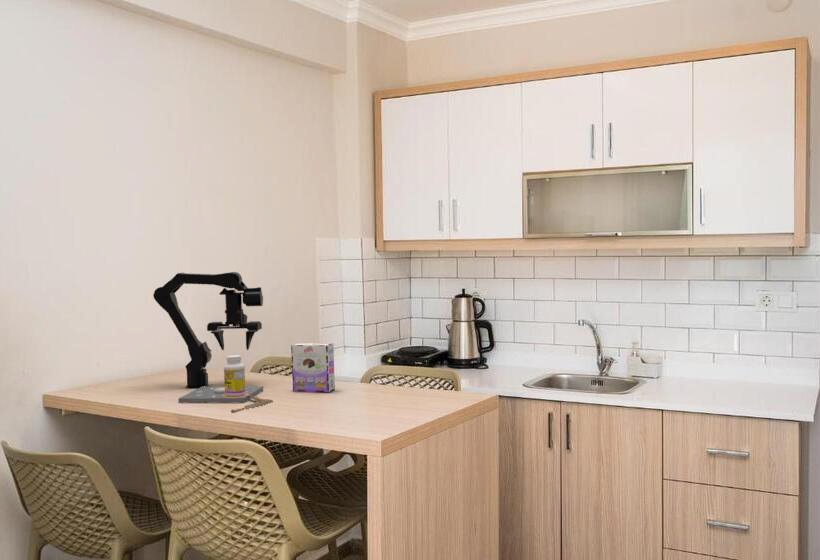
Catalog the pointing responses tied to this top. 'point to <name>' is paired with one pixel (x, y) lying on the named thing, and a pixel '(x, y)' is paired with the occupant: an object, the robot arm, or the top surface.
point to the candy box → (313, 367)
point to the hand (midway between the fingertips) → (235, 349)
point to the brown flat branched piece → (258, 403)
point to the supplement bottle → (234, 376)
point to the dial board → (218, 395)
